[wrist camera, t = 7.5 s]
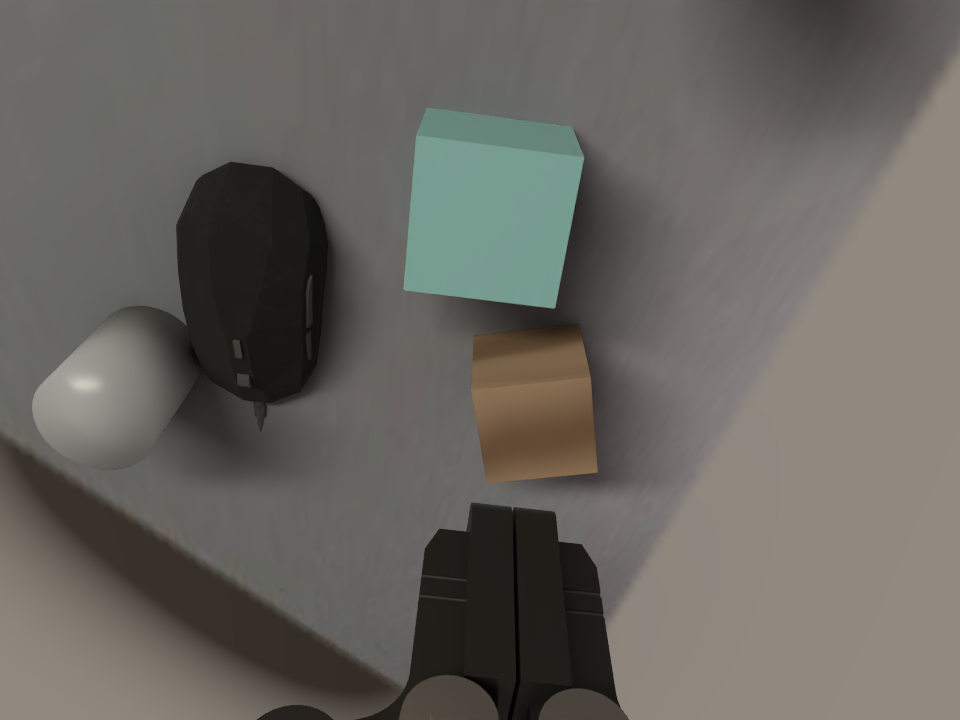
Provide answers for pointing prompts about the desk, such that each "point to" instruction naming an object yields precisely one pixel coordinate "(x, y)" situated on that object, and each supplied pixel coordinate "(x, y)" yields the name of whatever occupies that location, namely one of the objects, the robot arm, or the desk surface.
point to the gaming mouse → (253, 280)
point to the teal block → (491, 207)
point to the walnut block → (533, 404)
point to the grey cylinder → (118, 389)
